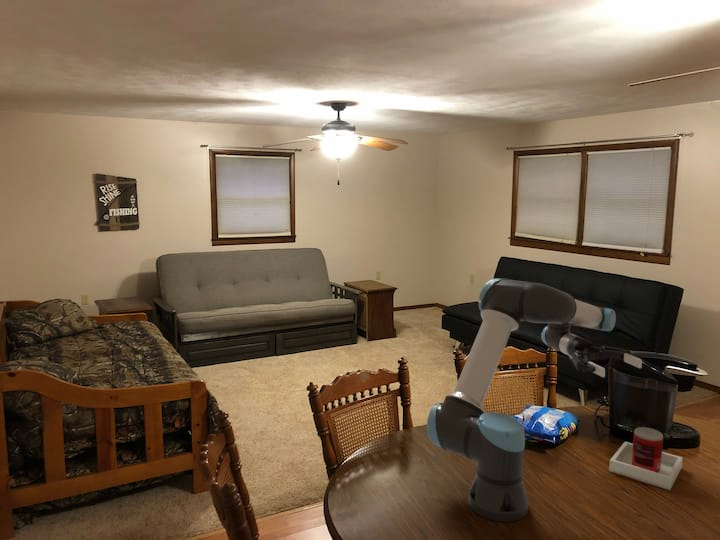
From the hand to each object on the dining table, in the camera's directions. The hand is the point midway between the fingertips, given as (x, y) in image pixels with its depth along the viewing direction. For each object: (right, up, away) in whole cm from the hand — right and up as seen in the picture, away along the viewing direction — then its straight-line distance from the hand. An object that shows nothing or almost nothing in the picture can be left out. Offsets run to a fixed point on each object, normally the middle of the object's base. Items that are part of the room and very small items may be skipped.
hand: (622, 368), depth 167 cm
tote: (+5, -29, -4) cm, 30 cm away
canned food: (+5, -29, -4) cm, 30 cm away
